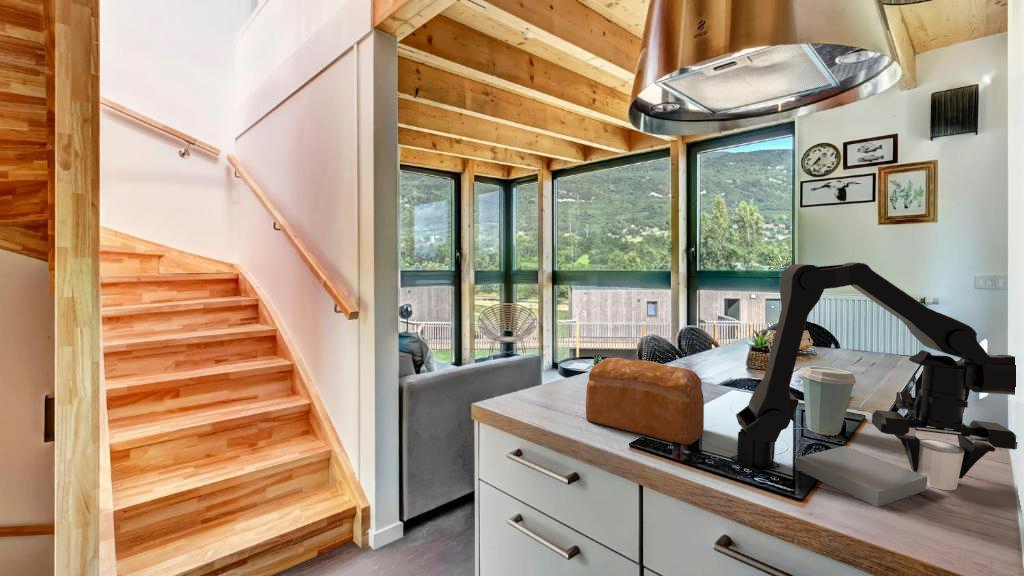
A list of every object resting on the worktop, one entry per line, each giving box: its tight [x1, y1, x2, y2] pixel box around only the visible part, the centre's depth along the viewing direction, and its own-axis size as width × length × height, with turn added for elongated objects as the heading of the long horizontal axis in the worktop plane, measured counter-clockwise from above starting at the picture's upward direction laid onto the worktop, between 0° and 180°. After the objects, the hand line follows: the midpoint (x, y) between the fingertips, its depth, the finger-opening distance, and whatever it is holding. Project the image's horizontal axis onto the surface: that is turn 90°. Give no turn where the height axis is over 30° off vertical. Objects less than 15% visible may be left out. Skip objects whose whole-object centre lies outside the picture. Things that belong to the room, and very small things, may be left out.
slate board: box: [796, 445, 928, 508], centre depth 85 cm, size 14×14×2 cm
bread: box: [585, 357, 705, 446], centre depth 111 cm, size 14×26×16 cm, turn 53°
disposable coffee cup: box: [801, 365, 857, 437], centre depth 109 cm, size 11×11×15 cm
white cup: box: [916, 437, 964, 491], centre depth 84 cm, size 7×7×7 cm
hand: (936, 474), depth 85 cm, fingers closed on white cup, 6 cm apart
